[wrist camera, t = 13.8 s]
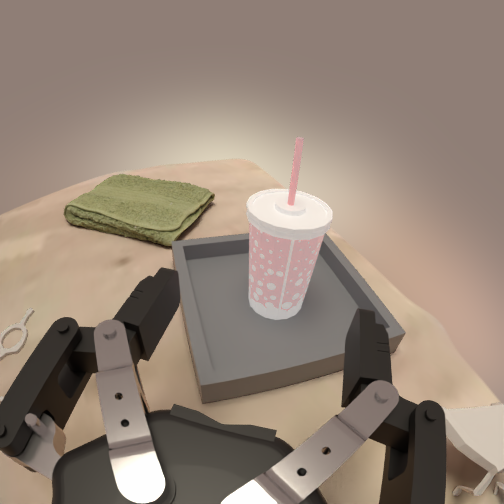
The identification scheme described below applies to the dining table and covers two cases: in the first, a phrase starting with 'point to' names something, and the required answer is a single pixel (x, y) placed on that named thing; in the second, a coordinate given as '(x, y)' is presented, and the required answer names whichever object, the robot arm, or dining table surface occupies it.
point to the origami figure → (478, 440)
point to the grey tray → (266, 319)
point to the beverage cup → (284, 245)
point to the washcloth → (139, 208)
